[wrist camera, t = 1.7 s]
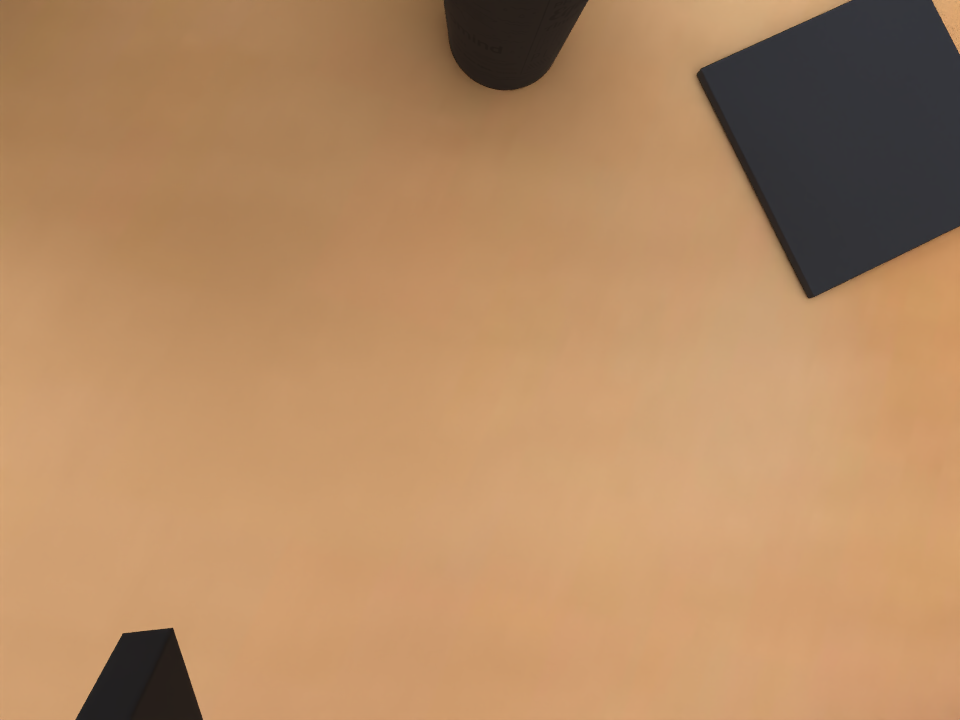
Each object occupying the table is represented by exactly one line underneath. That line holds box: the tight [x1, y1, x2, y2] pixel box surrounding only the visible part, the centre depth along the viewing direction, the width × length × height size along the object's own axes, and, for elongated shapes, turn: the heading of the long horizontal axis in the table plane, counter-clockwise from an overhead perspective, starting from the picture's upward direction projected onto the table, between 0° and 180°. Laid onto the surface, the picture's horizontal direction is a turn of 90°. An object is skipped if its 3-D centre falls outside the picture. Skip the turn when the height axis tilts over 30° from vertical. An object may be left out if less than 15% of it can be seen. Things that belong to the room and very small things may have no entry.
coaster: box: [697, 0, 960, 298], centre depth 35 cm, size 11×11×1 cm
